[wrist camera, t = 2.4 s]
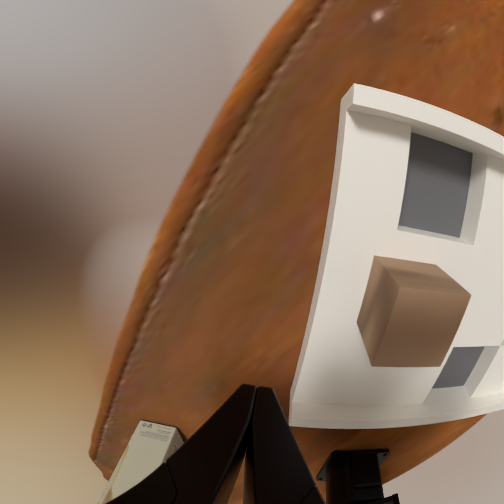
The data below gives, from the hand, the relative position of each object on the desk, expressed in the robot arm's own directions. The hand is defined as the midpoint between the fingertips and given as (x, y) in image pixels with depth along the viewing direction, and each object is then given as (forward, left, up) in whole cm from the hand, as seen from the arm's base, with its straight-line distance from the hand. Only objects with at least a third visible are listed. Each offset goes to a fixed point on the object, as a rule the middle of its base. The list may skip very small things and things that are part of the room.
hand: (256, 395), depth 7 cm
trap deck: (0, -13, -10) cm, 17 cm away
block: (0, -7, -8) cm, 11 cm away
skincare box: (-21, +9, -10) cm, 25 cm away
